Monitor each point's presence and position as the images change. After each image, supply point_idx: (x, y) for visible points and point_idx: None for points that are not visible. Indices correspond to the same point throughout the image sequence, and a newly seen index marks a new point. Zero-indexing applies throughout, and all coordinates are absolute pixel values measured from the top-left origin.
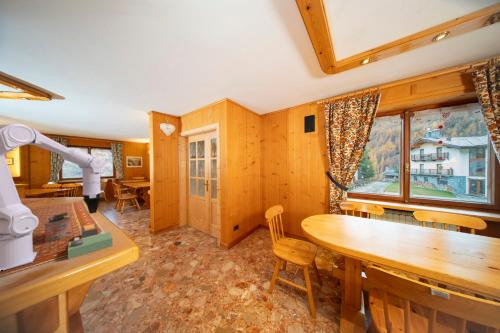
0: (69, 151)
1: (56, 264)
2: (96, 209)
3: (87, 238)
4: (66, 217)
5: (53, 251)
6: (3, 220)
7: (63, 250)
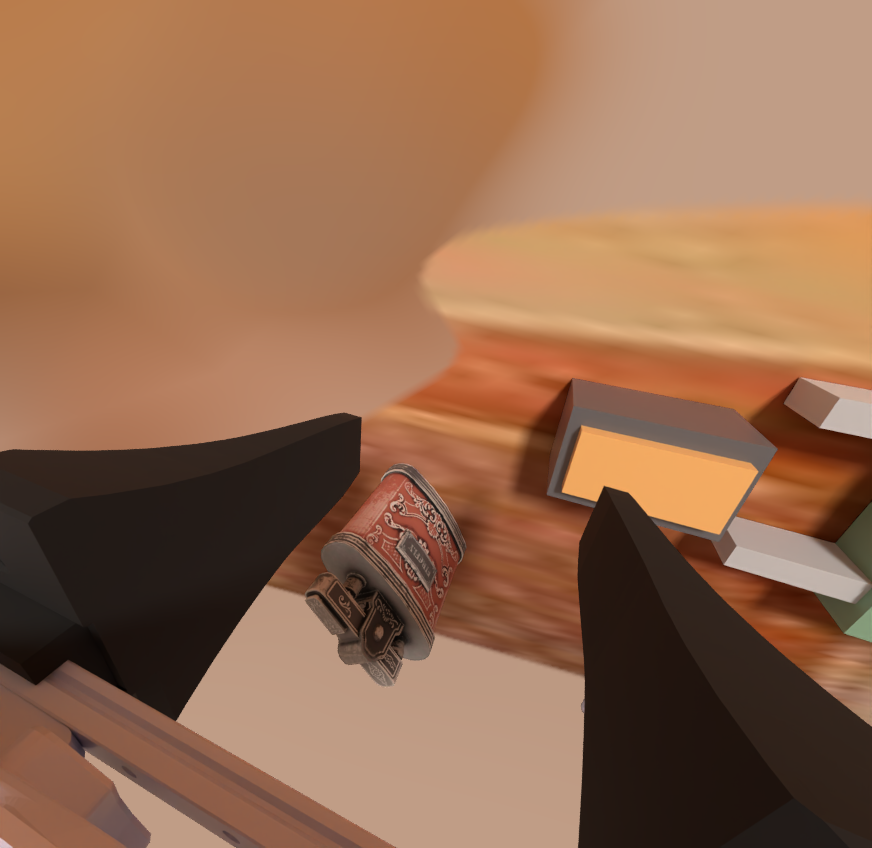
0: None
1: None
2: (653, 529)
3: None
4: (329, 554)
5: None
6: None
7: (750, 585)
